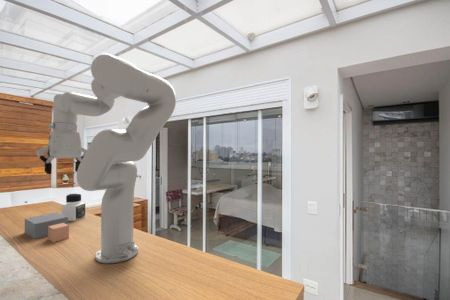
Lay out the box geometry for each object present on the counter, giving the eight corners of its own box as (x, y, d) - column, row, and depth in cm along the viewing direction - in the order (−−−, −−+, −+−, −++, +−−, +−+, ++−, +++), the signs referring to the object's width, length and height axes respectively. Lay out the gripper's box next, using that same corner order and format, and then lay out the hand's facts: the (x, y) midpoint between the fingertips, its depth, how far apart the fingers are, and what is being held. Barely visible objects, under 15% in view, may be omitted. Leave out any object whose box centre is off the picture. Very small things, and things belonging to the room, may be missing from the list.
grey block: (67, 231, 96) (67, 216, 96) (34, 239, 87) (34, 224, 87) (56, 226, 102) (56, 212, 102) (24, 233, 93) (24, 218, 93)
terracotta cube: (68, 238, 88) (68, 225, 88) (53, 242, 84) (53, 229, 84) (63, 235, 91) (63, 222, 91) (48, 239, 87) (48, 226, 87)
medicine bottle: (76, 221, 108) (76, 195, 108) (61, 221, 108) (61, 195, 108) (85, 216, 115) (85, 192, 115) (71, 216, 115) (71, 192, 115)
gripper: (40, 125, 78) (39, 176, 79) (93, 129, 92) (92, 172, 93) (33, 126, 83) (32, 173, 83) (85, 129, 97) (83, 170, 97)
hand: (63, 172), depth 88 cm, fingers open, 9 cm apart
